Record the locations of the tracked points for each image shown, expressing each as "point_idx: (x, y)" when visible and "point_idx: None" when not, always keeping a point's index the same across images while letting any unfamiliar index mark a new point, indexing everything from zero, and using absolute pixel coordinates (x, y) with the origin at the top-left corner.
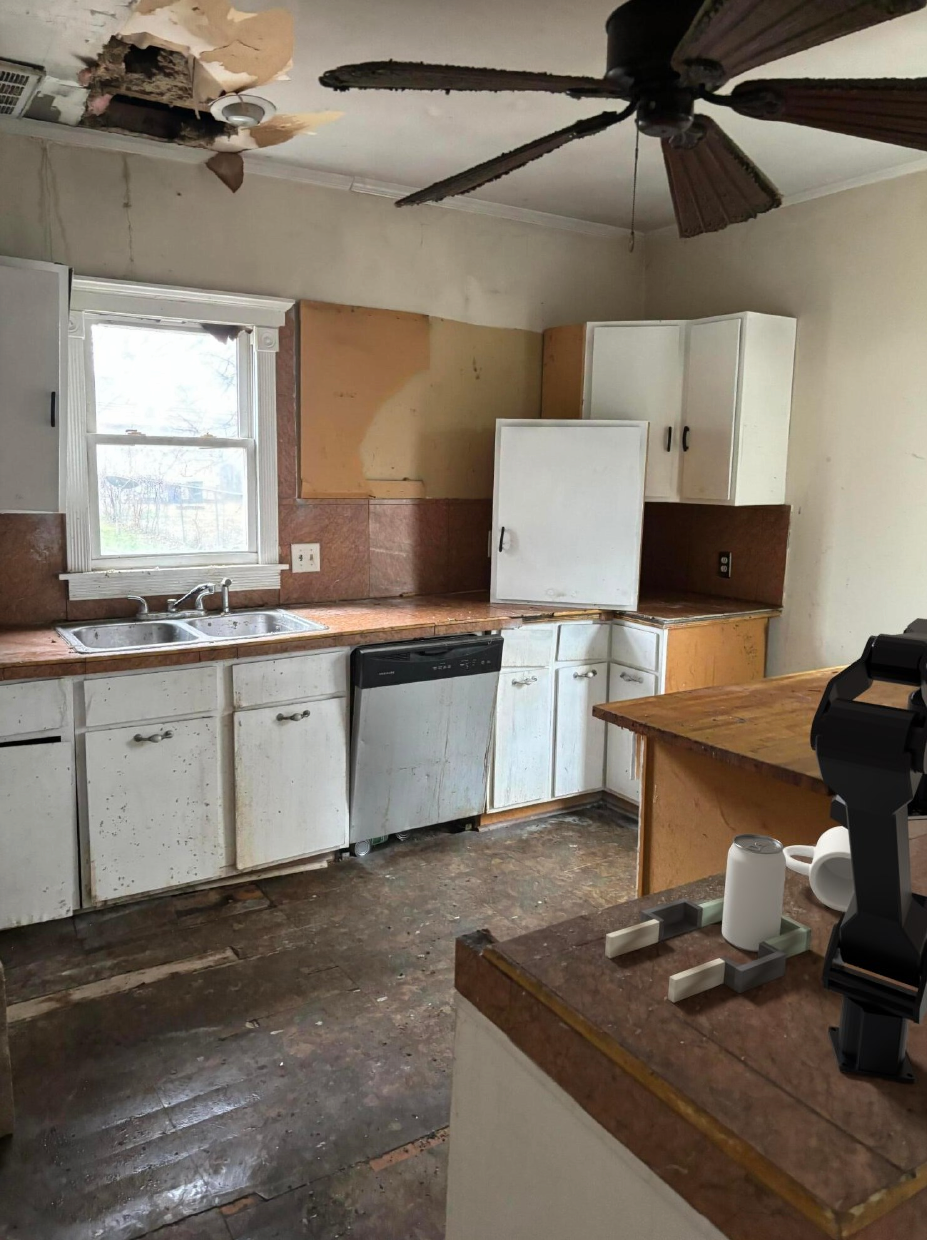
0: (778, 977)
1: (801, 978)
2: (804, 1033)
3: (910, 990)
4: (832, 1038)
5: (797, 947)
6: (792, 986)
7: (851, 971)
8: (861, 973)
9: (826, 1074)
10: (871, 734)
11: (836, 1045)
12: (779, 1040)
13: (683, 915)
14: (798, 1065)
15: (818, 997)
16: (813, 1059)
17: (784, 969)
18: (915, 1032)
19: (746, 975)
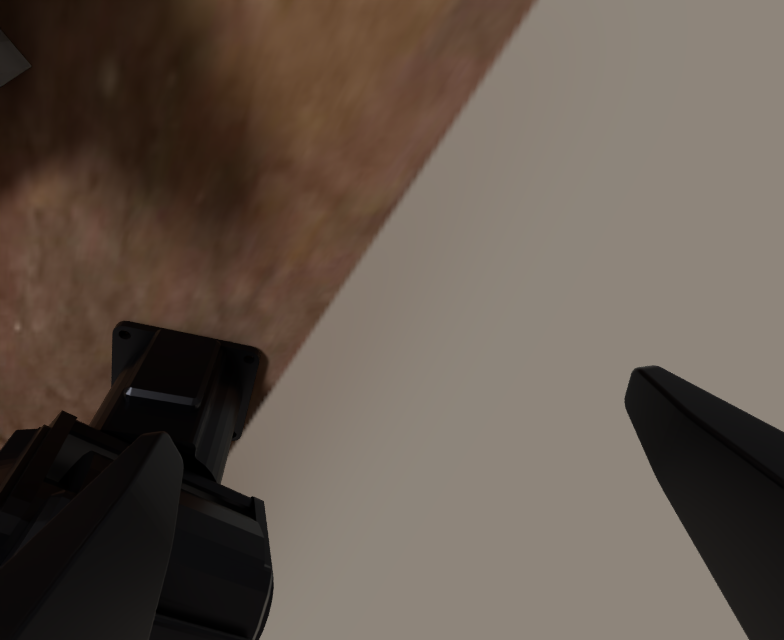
0: (9, 80)
1: (92, 87)
2: (64, 320)
3: (219, 503)
4: (114, 359)
5: None
6: (55, 133)
7: (86, 452)
8: (113, 458)
9: (91, 414)
10: None
11: (118, 375)
12: (4, 339)
13: None
14: (40, 398)
15: (127, 191)
16: (73, 385)
17: (18, 68)
18: (316, 318)
19: None
